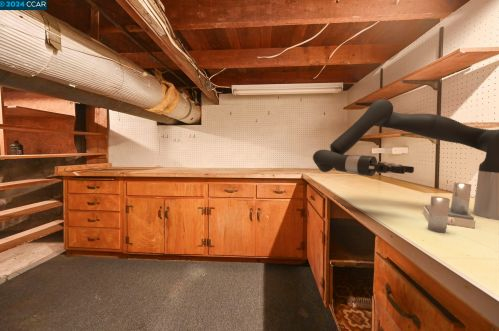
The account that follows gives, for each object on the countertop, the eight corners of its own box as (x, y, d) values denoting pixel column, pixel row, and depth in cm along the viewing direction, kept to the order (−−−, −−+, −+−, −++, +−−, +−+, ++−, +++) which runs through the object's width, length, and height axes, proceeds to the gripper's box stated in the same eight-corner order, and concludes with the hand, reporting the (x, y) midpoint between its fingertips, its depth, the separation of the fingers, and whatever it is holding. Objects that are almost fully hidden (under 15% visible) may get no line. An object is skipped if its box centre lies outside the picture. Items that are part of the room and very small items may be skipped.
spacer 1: (426, 226, 75) (430, 195, 74) (444, 229, 72) (448, 197, 72) (428, 230, 71) (432, 198, 70) (447, 234, 69) (451, 200, 68)
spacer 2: (449, 210, 83) (452, 182, 82) (465, 212, 81) (469, 183, 80) (452, 213, 80) (455, 183, 79) (469, 215, 77) (473, 185, 76)
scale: (423, 213, 91) (423, 204, 91) (464, 219, 85) (465, 210, 85) (427, 221, 80) (428, 211, 80) (475, 229, 74) (476, 218, 74)
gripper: (352, 155, 86) (403, 159, 74) (370, 155, 95) (417, 159, 83) (350, 175, 87) (400, 182, 74) (368, 173, 96) (414, 180, 83)
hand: (409, 170), depth 79 cm, fingers open, 8 cm apart
